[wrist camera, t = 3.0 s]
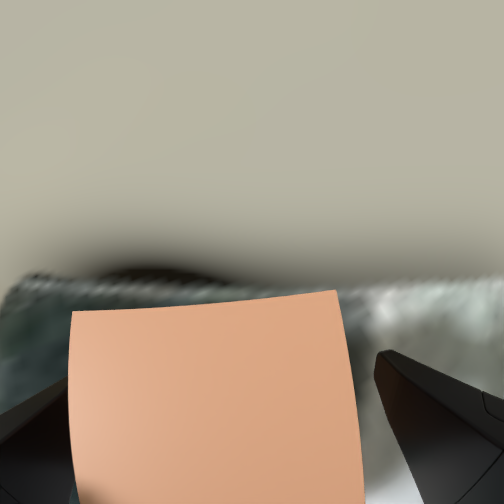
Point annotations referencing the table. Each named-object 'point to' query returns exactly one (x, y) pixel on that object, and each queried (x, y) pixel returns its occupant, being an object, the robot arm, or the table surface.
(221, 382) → the post
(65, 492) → the robot arm
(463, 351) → the table surface
